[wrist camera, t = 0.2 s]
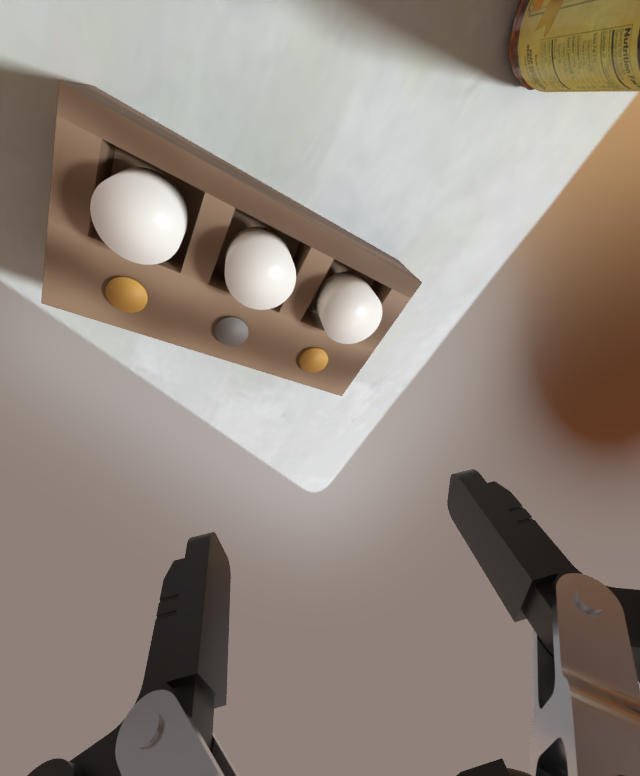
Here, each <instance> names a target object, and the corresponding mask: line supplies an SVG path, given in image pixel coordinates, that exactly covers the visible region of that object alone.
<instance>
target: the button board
mask: <svg viewBox="0 0 640 776" xmlns="http://www.w3.org/2000/svg"><path fill="white" fill-rule="evenodd" d="M130 167H145V168H149V169H152V170H155V171H157V172H159V173H161V174H162V175H164V176H165V177H167V178H168V179H169V180H170V181H171V182H172V183H173V184H174V185H175V186H176V187H177V188H178V190H179V191H180V193H181V194H182V196H183V198H184V200H185V202H186V206H187V209H188V226H187V230H186V232H185V235H184V237H183V239H182V242H181V244H180V247H179V249H178V250H177V252H176V253H175V254H174V255H173V256H172V257H171V258H170V259H168V260H167V261H165V262H162V263H159V264H154V265H144V264H138V263H134V262H131V261H129V260H127V259H124V258H123V257H121V256H119V255H118V254H116V253H115V252H114V251H112V250H111V249H110V248H109V247H108V246H107V245H106V244H105V243H104V242H103V240H102V239H101V238H100V236H99V235H98V233H97V231H96V229H95V227H94V224H93V222H92V218H91V212H90V204H91V198H92V195H93V193H94V191H95V189H96V188H97V186H98V185H99V184H100V183H101V182H103V181H104V180H106V179H107V178H109V177H111V176H113V175H115V174H117V173H118V172H120V171H122V170H124V169H127V168H130ZM249 227H264V228H268V229H270V230H272V231H274V232H275V233H277V234H278V235H279V236H280V237H281V238H282V239H283V240H284V242H285V243H286V245H287V247H288V249H289V252H290V255H291V257H292V260H293V263H294V266H295V269H296V283H295V287H294V289H293V292H292V293H291V295H290V296H289V298H288V299H287V300H286V301H285V302H283V303H282V304H281V305H279V306H277V307H274V308H271V309H266V310H257V309H252V308H249V307H246V306H244V305H243V304H241V303H240V302H238V301H237V300H236V299H235V298H234V297H233V296H232V294H231V293H230V291H229V290H228V288H227V285H226V282H225V259H226V250H227V247H228V245H229V242H230V241H231V239H232V238H233V237H234V236H235V235H236V234H237V233H238V232H240V231H241V230H243V229H246V228H249ZM339 272H353V273H356V274H358V275H360V276H361V277H362V278H363V279H364V280H365V281H366V282H367V284H368V285H369V286H370V288H371V289H372V290H373V292H374V293H375V294H376V296H377V297H378V298H379V300H380V302H381V305H382V319H381V322H380V324H379V326H378V327H377V329H376V330H375V331H374V333H373V334H372V335H370V336H369V337H368V338H366V339H365V340H363V341H360V342H358V343H353V344H342V343H338V342H336V341H334V340H332V339H331V338H330V337H329V336H328V335H327V334H326V332H325V330H324V327H323V325H322V322H321V320H320V317H319V315H318V312H317V310H316V306H315V298H316V293H317V291H318V289H319V287H320V285H321V284H322V283H323V282H324V281H325V280H326V279H327V278H328V277H330V276H332V275H334V274H336V273H339ZM421 283H422V282H421V281H420V280H419V279H418V278H416V277H415V276H414V275H413V274H412V273H411V272H410V271H409V270H408V269H407V268H406V267H405V266H404V265H403V264H402V263H401V262H400V261H398V260H397V259H395V258H393V257H392V256H390V255H388V254H386V253H385V252H383V251H381V250H380V249H378V248H376V247H374V246H373V245H371V244H369V243H367V242H366V241H364V240H362V239H360V238H359V237H357V236H355V235H353V234H352V233H350V232H348V231H346V230H345V229H343V228H341V227H339V226H338V225H336V224H334V223H332V222H331V221H329V220H327V219H325V218H324V217H322V216H320V215H318V214H317V213H315V212H313V211H311V210H310V209H308V208H306V207H304V206H303V205H301V204H299V203H297V202H296V201H294V200H292V199H290V198H289V197H287V196H285V195H283V194H282V193H280V192H278V191H276V190H275V189H273V188H271V187H269V186H268V185H266V184H264V183H262V182H261V181H259V180H257V179H255V178H254V177H252V176H250V175H248V174H247V173H245V172H243V171H241V170H240V169H238V168H236V167H234V166H233V165H231V164H229V163H227V162H226V161H224V160H222V159H220V158H219V157H217V156H215V155H213V154H212V153H210V152H208V151H206V150H205V149H203V148H201V147H199V146H198V145H196V144H194V143H193V142H191V141H189V140H187V139H186V138H184V137H182V136H180V135H179V134H177V133H175V132H173V131H172V130H170V129H168V128H166V127H165V126H163V125H161V124H159V123H158V122H156V121H154V120H152V119H151V118H149V117H147V116H145V115H144V114H142V113H140V112H138V111H137V110H135V109H133V108H131V107H130V106H128V105H126V104H124V103H123V102H121V101H119V100H117V99H116V98H114V97H112V96H110V95H109V94H107V93H105V92H103V91H102V90H100V89H98V88H96V87H95V86H90V85H83V84H76V83H70V82H63V81H59V92H58V104H57V116H56V129H55V141H54V153H53V165H52V177H51V190H50V202H49V214H48V226H47V238H46V251H45V263H44V275H43V287H42V299H41V303H42V304H46V305H49V306H52V307H55V308H59V309H62V310H65V311H68V312H72V313H75V314H78V315H81V316H84V317H88V318H91V319H94V320H97V321H101V322H104V323H107V324H110V325H114V326H117V327H120V328H123V329H126V330H130V331H133V332H136V333H139V334H143V335H146V336H149V337H152V338H156V339H159V340H162V341H165V342H168V343H172V344H175V345H178V346H181V347H185V348H188V349H191V350H194V351H198V352H201V353H204V354H207V355H210V356H214V357H217V358H220V359H223V360H227V361H230V362H233V363H236V364H240V365H243V366H246V367H249V368H252V369H256V370H259V371H262V372H265V373H269V374H272V375H275V376H278V377H282V378H285V379H288V380H291V381H294V382H298V383H301V384H304V385H307V386H311V387H314V388H317V389H320V390H324V391H327V392H330V393H333V394H336V395H340V396H342V395H343V394H344V392H345V391H346V389H347V388H348V386H349V385H350V384H351V382H352V381H353V379H354V378H355V377H356V375H357V374H358V372H359V371H360V369H361V368H362V367H363V365H364V364H365V362H366V361H367V360H368V358H369V357H370V355H371V354H372V353H373V351H374V350H375V348H376V347H377V345H378V344H379V343H380V341H381V340H382V338H383V337H384V336H385V334H386V333H387V331H388V330H389V329H390V327H391V326H392V324H393V323H394V321H395V320H396V319H397V317H398V316H399V314H400V313H401V312H402V310H403V309H404V307H405V306H406V304H407V303H408V302H409V300H410V299H411V297H412V296H413V295H414V293H415V292H416V290H417V289H418V288H419V286H420V285H421Z"/></svg>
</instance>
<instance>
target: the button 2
mask: <svg viewBox="0 0 640 776" xmlns="http://www.w3.org/2000/svg"><path fill="white" fill-rule="evenodd" d="M225 282H226V285H227V288H228V290H229V291H230V293H231V294H232V296H233V297H234V298H235V299H236V300H237V301H238V302H240V303H241V304H243V305H244V306H246V307H249V308H252V309H257V310H266V309H271V308H274V307H277V306H279V305H281V304H282V303H283V302H285V301H286V300H287V299H288V298H289V296H290V295H291V293H292V292H293V289H294V287H295V283H296V269H295V266H294V263H293V260H292V257H291V255H290V252H289V249H288V247H287V245H286V243H285V242H284V240H283V239H282V238H281V237H280V236H279V235H278V234H277V233H275V232H274V231H272V230H270V229H268V228H264V227H249V228H246V229H243V230H241V231H240V232H238V233H237V234H236V235H235V236H234V237H233V238H232V239H231V241H230V242H229V245H228V247H227V250H226V259H225Z"/></svg>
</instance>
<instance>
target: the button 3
mask: <svg viewBox="0 0 640 776" xmlns="http://www.w3.org/2000/svg"><path fill="white" fill-rule="evenodd" d="M315 306H316V310H317V312H318V315H319V317H320V320H321V322H322V325H323V327H324V330H325V332H326V334H327V335H328V336H329V337H330V338H331V339H332V340H334V341H336V342H338V343H342V344H353V343H358V342H360V341H363V340H365V339H366V338H368V337H369V336H370V335H372V334H373V333H374V331H375V330H376V329H377V327H378V326H379V324H380V322H381V319H382V305H381V302H380V300H379V298H378V297H377V296H376V294H375V293H374V292H373V290H372V289H371V288H370V286H369V285H368V284H367V282H366V281H365V280H364V279H363V278H362V277H361V276H360V275H358V274H356V273H353V272H339V273H336V274H334V275H332V276H330V277H328V278H327V279H326V280H325V281H324V282H323V283H322V284H321V285H320V287H319V289H318V291H317V293H316V298H315Z"/></svg>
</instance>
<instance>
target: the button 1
mask: <svg viewBox="0 0 640 776" xmlns="http://www.w3.org/2000/svg"><path fill="white" fill-rule="evenodd" d="M90 212H91V218H92V222H93V224H94V227H95V229H96V231H97V233H98V235H99V236H100V238H101V239H102V240H103V242H104V243H105V244H106V245H107V246H108V247H109V248H110V249H111V250H112V251H114V252H115V253H116V254H118V255H119V256H121V257H123V258H124V259H127V260H129V261H131V262H134V263H138V264H144V265H154V264H159V263H162V262H165V261H167V260H168V259H170V258H171V257H172V256H173V255H174V254H175V253H176V252H177V250H178V249H179V247H180V244H181V242H182V239H183V237H184V235H185V232H186V230H187V226H188V209H187V206H186V202H185V200H184V198H183V196H182V194H181V193H180V191H179V190H178V188H177V187H176V186H175V185H174V184H173V183H172V182H171V181H170V180H169V179H168V178H167V177H165V176H164V175H162V174H161V173H159V172H157V171H155V170H152V169H149V168H145V167H130V168H127V169H124V170H122V171H120V172H118V173H117V174H115V175H113V176H111V177H109V178H107V179H106V180H104V181H103V182H101V183H100V184H99V185H98V186H97V188H96V189H95V191H94V193H93V195H92V198H91V204H90Z"/></svg>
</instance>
